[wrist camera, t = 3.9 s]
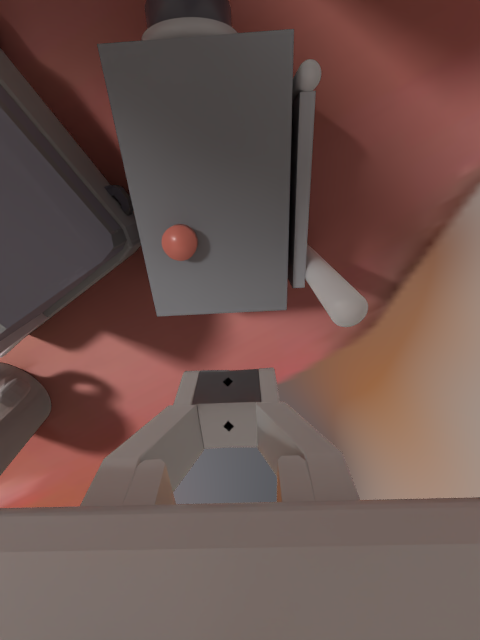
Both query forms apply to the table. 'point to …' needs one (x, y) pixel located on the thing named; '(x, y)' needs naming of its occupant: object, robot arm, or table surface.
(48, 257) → the instant camera
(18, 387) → the coffee mug
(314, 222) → the table surface
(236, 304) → the camera box
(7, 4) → the table surface
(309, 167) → the side door
